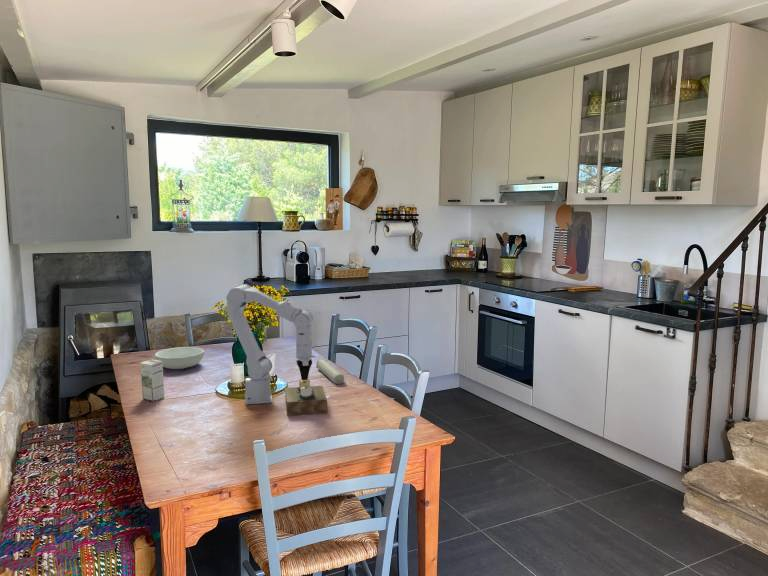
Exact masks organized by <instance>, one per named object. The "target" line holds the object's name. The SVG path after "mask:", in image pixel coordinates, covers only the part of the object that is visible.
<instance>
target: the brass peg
mask: <svg viewBox="0 0 768 576" xmlns="http://www.w3.org/2000/svg"><path fill="white" fill-rule="evenodd" d="M298 384H299V385H298V387H299V392H300V388H301V387H302V386H311V380H310V379H308V380H302V379H300V380H299V381H298Z"/></svg>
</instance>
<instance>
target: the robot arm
mask: <svg viewBox="0 0 768 576" xmlns="http://www.w3.org/2000/svg"><path fill="white" fill-rule="evenodd" d="M225 299H226V302H227V303H226V305H227V306H226V314H227V316H228V319H229V321H230V323H231V325H232V327H233V330H234V332H235V334H236V336H237V338H238V341H239V342H240V345H241V346H242V349H243V351H244V353H245V356H246V362H245V364H246V367H247V374H248V376H249V377H246V378H245V384H244V388H245V391H244V392H245V393H244V398H245V405H258V404H271V403H273V396H272V394H271V393H272V392H271V391H272V389H271V374H270V372H271V370H272V369H273V362H272V361H271V359H270V358H268V356H267V354H266V353H265V352H264V351H262V350H261V348H260V347H259V344H258V342H257V340H256V338H255V336H254V333H253V331H252V329H251V327H250V325H249V323H248V320H247V318H246V316H245V314H244V310H245V309H246V307H247V304H248V303H258V304H260V305H263V306H265V307H267V308H269V309H271V310H273V311H275V313H276V316H278V317H280V318H282V319H284V320H287V321H289V322H290V323H293V325H294V327H295V347H296V348H295V353H296V354H295V358H296V359H297V360H295V362H296V365H297V367H298V369H299V372H300V378H301V379H300V380H309V375H310V370H311V367H312V365H313V360H312V358H316V354H315V353H313V344H312V343H313V342H312V341H313V337H312V334H313V332H312V323H313V320H314V315H313V314H312V312H311V311H309V310H308V309H303V308H302V307H297V306H295V305H294V304H292V303H291V301H289V300H287V301H285V300H284V301H278V300H276V299H274V297H273V298H272V297H271V296H269V295H268V294H265V293H264V292H262V291H260V290H259V289H257V288H256V287H254V286H251V285H249V284H246V283H245V284H241V285H240V286H236V287H232V288H231V289H230V290H229V291H228V293H227V295H226V297H225Z"/></svg>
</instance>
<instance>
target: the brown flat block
mask: <svg viewBox="0 0 768 576" xmlns="http://www.w3.org/2000/svg"><path fill="white" fill-rule="evenodd" d="M310 386H311V385H310ZM311 387H312V398H305V399H301V392H299V386H296V387H295V386H292V387H285V389H284V393H285V395H284V396H285V408H286V416H287V417H288V416H290V417H291V416H304V415H305V414H307V415H317V414H319V413H321V414H328V399H327V395H326V392H325V390H324V386H323V385H312V386H311ZM319 415H320V414H319Z"/></svg>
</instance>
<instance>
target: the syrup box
mask: <svg viewBox="0 0 768 576" xmlns="http://www.w3.org/2000/svg"><path fill="white" fill-rule="evenodd" d="M139 364H140V373H141V374H140V375H141V376H140V377H141V390H142V391H141V392H142V400H144V399H146V400H145V401H149V400H151V401H150V402H155V401H154V400H156V401H158V400H157V399H159V400H161V399H163V398H162V397H164V398H165V385H164V384H165V383H164V367H163V366H162V361H158V360H156V359H152V358H151V359H148V360H144V361H141V362H140V363H139ZM160 398H161V399H160Z"/></svg>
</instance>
